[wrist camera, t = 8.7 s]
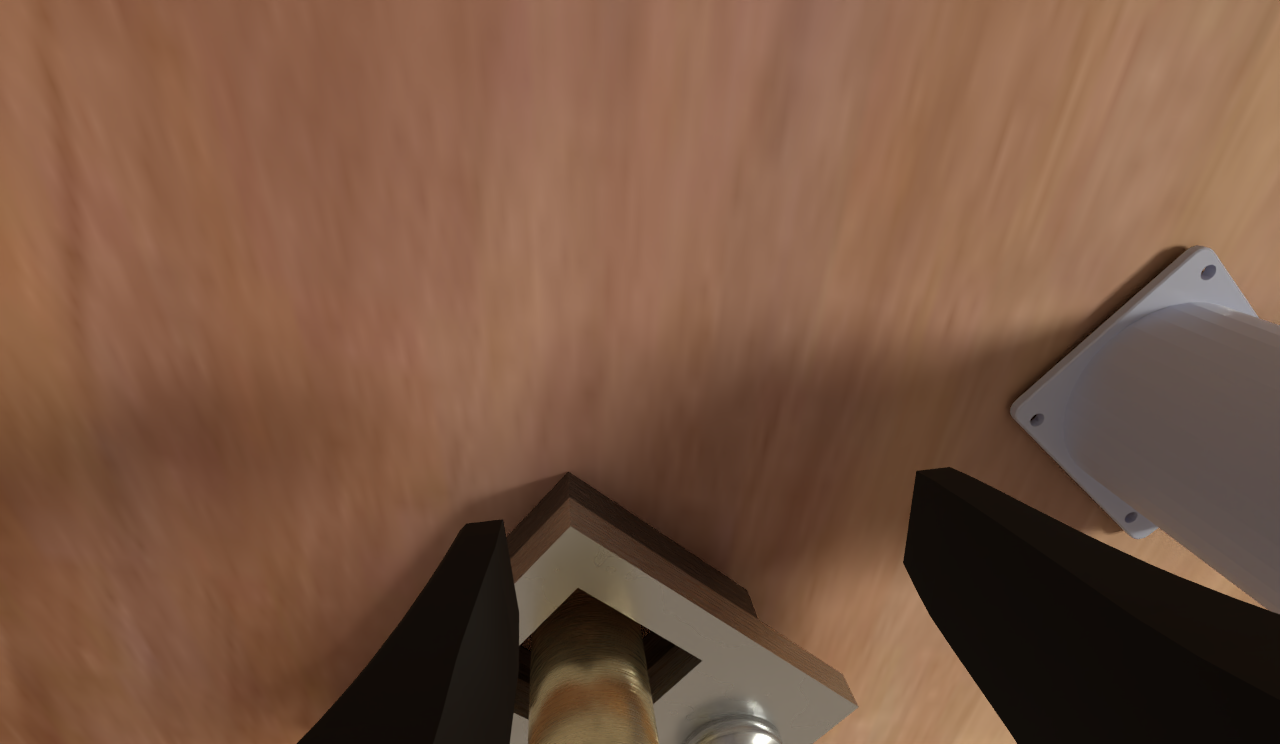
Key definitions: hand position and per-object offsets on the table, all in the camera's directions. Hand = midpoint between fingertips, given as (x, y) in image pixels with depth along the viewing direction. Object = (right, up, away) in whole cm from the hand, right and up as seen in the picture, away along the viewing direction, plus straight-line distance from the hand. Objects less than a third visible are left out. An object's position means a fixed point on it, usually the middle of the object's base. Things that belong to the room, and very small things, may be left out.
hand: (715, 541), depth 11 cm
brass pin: (-3, -6, +14) cm, 16 cm away
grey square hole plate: (-2, -8, +15) cm, 17 cm away
